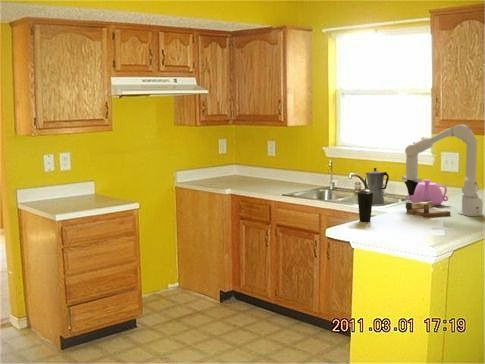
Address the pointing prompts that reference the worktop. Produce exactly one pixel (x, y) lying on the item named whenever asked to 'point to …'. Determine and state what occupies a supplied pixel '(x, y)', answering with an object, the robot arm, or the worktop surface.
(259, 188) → the worktop surface
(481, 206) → the robot arm
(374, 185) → the moka pot
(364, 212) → the drinking cup
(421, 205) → the birch leg
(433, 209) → the walnut stool seat
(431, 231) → the worktop surface
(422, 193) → the teapot
